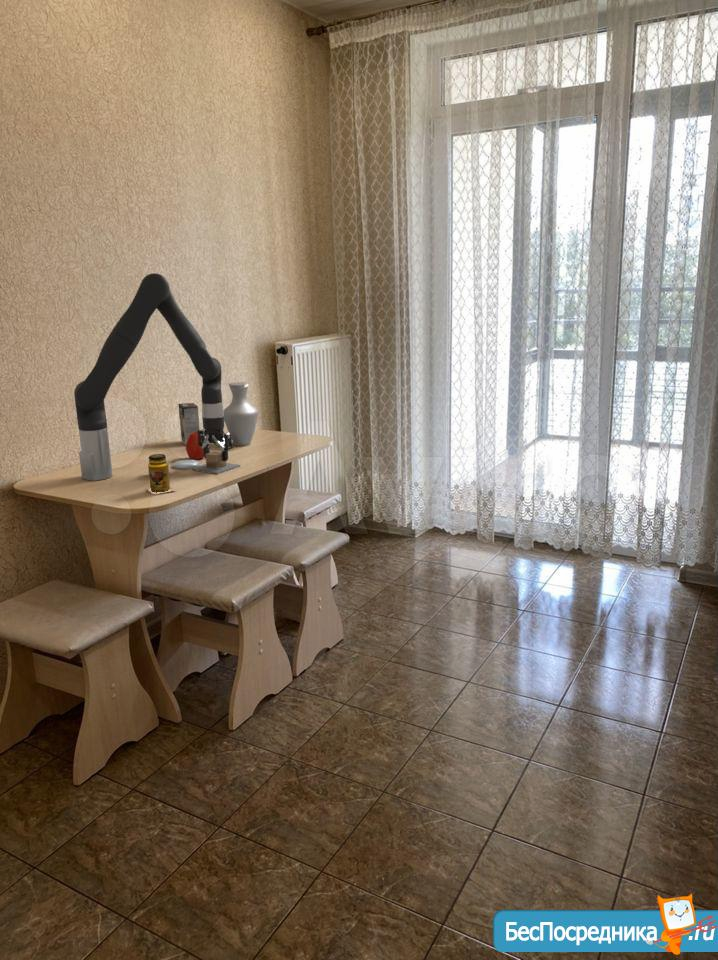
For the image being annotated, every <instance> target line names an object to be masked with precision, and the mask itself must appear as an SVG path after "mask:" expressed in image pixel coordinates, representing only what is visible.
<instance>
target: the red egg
mask: <svg viewBox="0 0 718 960" xmlns="http://www.w3.org/2000/svg"><path fill="white" fill-rule="evenodd" d="M201 442H202V440H201ZM185 450H186V453H187V456H188V457H189V458H190V460H199V459H200V460H201V459H203V458H204V455H203V448H202V447H201V446H198V432H195V433H191V434H190V436H189V438H188V440H187V443H186V445H185ZM204 459H205V458H204Z"/></svg>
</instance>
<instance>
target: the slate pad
mask: <svg viewBox="0 0 718 960" xmlns="http://www.w3.org/2000/svg"><path fill="white" fill-rule="evenodd" d="M237 467H238V468H241V465H240V464H237V463H230V462H226V466H225V467H222V468H219V469H213V468H207V467H206V463H205V464H201V465H199V466H198V467H195V468H191V469H192V471H196V470H198V471H197V472H201V471H204V472H203V473H207V472H210V473H209V474H213V473H216V474H215V475H220V474H223V473H225V471H226V472H229V471H231V469H232V470H235V469H237ZM234 468H235V469H234ZM228 470H229V471H228ZM222 472H223V473H222ZM219 473H220V474H219Z"/></svg>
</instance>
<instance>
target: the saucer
mask: <svg viewBox="0 0 718 960" xmlns="http://www.w3.org/2000/svg"><path fill="white" fill-rule="evenodd" d="M199 463H200V462H199V460H198V459H196V460H193V459H180V460H176V461H174V462H173V468H174V469H177V470H189V469H190V468H191V469H192V468H195V467H198V466H200V464H199Z"/></svg>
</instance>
